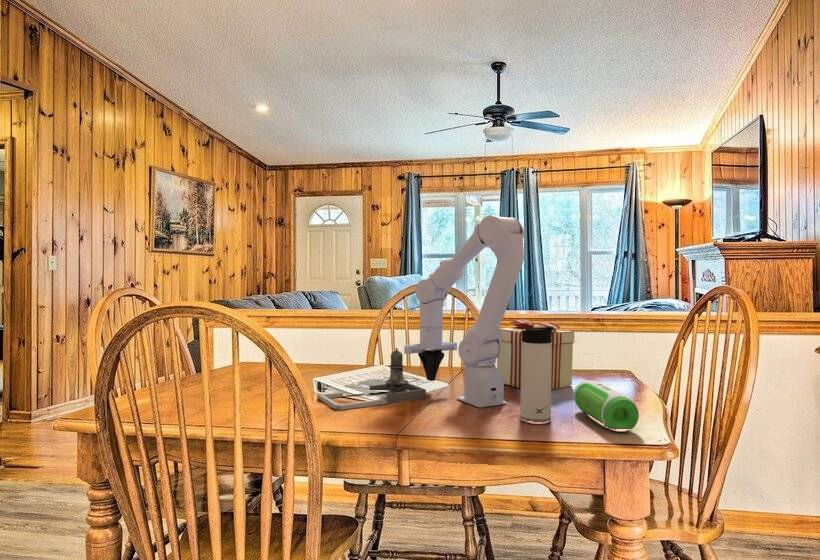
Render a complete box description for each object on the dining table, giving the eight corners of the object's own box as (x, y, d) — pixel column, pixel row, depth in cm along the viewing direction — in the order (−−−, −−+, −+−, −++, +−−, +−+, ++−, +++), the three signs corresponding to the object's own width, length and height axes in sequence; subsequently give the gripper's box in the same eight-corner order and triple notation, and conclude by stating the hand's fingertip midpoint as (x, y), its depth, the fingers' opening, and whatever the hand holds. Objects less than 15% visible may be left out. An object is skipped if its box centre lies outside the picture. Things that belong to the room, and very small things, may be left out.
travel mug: (546, 426, 116) (548, 328, 116) (515, 421, 120) (517, 326, 119) (556, 419, 122) (557, 325, 121) (526, 414, 125) (527, 323, 124)
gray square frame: (385, 403, 134) (385, 399, 134) (337, 410, 128) (337, 405, 128) (364, 393, 144) (364, 389, 144) (318, 398, 139) (318, 394, 139)
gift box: (581, 384, 156) (583, 321, 156) (539, 394, 144) (540, 326, 144) (531, 374, 169) (532, 316, 169) (489, 383, 157) (489, 320, 157)
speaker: (571, 411, 129) (571, 378, 128) (602, 411, 129) (603, 377, 129) (604, 435, 111) (605, 397, 111) (641, 434, 112) (641, 396, 112)
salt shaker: (408, 398, 139) (408, 349, 139) (383, 398, 139) (384, 349, 139) (408, 393, 145) (408, 345, 145) (385, 392, 145) (385, 345, 145)
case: (426, 397, 140) (426, 389, 140) (387, 402, 135) (387, 394, 135) (405, 389, 149) (405, 381, 149) (369, 393, 144) (369, 385, 144)
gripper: (447, 323, 153) (446, 374, 154) (398, 326, 146) (398, 379, 147) (461, 326, 147) (461, 379, 147) (412, 329, 140) (411, 385, 141)
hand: (430, 380), depth 147 cm, fingers closed
